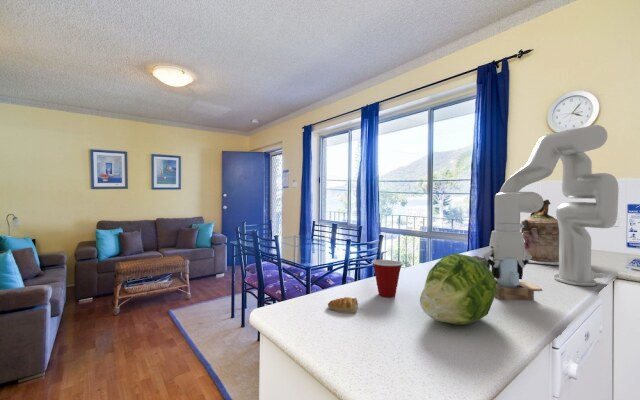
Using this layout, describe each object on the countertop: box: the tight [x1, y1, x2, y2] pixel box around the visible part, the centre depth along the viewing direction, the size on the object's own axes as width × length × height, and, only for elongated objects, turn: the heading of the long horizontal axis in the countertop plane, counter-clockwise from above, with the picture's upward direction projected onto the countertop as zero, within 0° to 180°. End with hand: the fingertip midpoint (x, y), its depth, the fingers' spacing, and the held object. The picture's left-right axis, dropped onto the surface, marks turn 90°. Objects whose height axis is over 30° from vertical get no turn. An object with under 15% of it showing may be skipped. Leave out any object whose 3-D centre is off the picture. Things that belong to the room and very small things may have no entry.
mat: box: [519, 281, 543, 291], centre depth 108 cm, size 8×8×1 cm
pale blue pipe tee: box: [497, 259, 520, 288], centre depth 99 cm, size 6×10×13 cm, turn 175°
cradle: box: [494, 278, 535, 301], centre depth 101 cm, size 11×11×4 cm
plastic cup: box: [371, 259, 403, 298], centre depth 101 cm, size 11×11×12 cm
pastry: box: [327, 296, 359, 314], centre depth 89 cm, size 9×7×4 cm
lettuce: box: [419, 253, 497, 325], centre depth 81 cm, size 19×23×18 cm
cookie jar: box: [520, 199, 559, 266], centre depth 149 cm, size 25×25×32 cm
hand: (507, 277), depth 100 cm, fingers open, 6 cm apart
